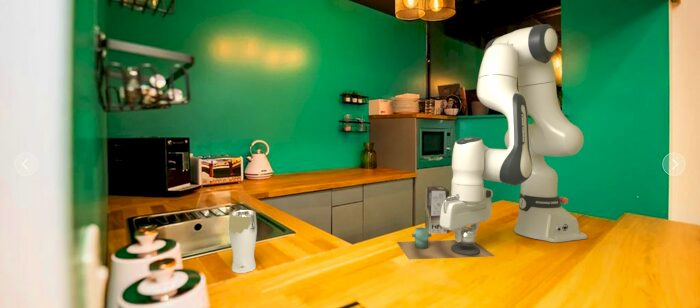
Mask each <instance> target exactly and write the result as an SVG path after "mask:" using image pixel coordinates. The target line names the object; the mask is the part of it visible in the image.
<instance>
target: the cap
mask: <svg viewBox="0 0 700 308" xmlns="http://www.w3.org/2000/svg"><path fill="white" fill-rule="evenodd" d="M460 232H461V235H463V241H462V242H457V244H458V245H461V246H467V247H470V246H474V245H475V242H476V239H475V238H476V237H475V230H474V229H471V228H470V227H469V226H465V227H462V230H461V231H460Z"/></svg>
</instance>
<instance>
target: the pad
mask: <svg viewBox="0 0 700 308" xmlns="http://www.w3.org/2000/svg"><path fill="white" fill-rule="evenodd" d="M451 250H452V251H453V252H455V253H457V254H461V255H468V256H473V255H478V254H479V253H480V249H479V248H477V247H475V246H470V247H467V246H461V245H458V244H454V245H452V246H451Z"/></svg>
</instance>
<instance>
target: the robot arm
mask: <svg viewBox="0 0 700 308" xmlns="http://www.w3.org/2000/svg"><path fill="white" fill-rule="evenodd" d="M558 45H559V37H558V33H557V31H556V29H555V28H554V27H553V26H552V25H551V24H546V23H545V24H543V23H541V24H535V25H533V26H530V27H524V28H519V29H516V30H514V31H511V32H509V33H507V34H504V35H502V36H497V37H495V38H493V39H491V40H490V41H488V43H487V44H486V46H485V47H484V51H483V57H482V61H481V64H480V66H479V67H480V68H479V72H478V77H477V84H476V96H477V99H478V100H479V102H480V103H481V104H482V105H484V106H485V107H487V108H489V109H491V110H493V111H496V112H499V113H501V114H503V115H504V117H506V120H507V125H508V126H507V127H508V129H507V131H506V132H505V135H504V144H505V147H506V148H507V149H504V148H491V147H490V148H489V147H488V146H486V145H485V144H484V142H483V139H482V138H480V137H476V136H468V137H462V138H460V139H457V140H456V141H455V142H454V145H453V149H452V155H451V156H452V158H451V170H452V179H451V183H450V184H451V187H450V189H451V190H450V191H451V192H450V195H449V196H448V197H447V198H446V199H445V201H444V202H443V205H442V208H441V215H440V226H441V228H443V229H446V230H448V231H452V232H453V234H454V240H455V241H457V242H462V241H463V235H461V232H460V231H461V230H462V227H469V226H470V227H469V228H471V229H474V230H475V238H476V237H477V231H478V228H479V227H480V223H481V222H484V221H485V222H486V221H488V220H490V218H491V215H492V205H493V204H492V197H493V195H494V193H493V190H492V189H489V188H486V187H484V180H486V181H491V182H498V183H503V184H508V185H511V186H520V192H519V194H518V195H519V196H518V207H519V208H518V210H519V211H518V215H517V220H516V224H515V227H514V229H513V231H514V233H516V234H518V235H520V236H522V237H526V238H529V239H535V240H539V241H546V242H551V243H564V242H571V241H572V242H573V241H579V240H586V239H588V235H587V234H586V233H584V232H583V231H580V227H579V221H578V219H577V218H576V217H575V216H574V215H572V214H571V213H570V212H568V210H566V209H565V208H564V207H562V204H561V203H563V204H564V205H566V204H568V201H569V199H568V198H567V197H563V196H561V197H559V196H558V178H559V177H558V174H557V171H556V170H555V169H553V168H552V167H550V166H549V165H548V164H547V163H546V161H545V157H544V156H546V157H556V158H557V157H568V156H574V155H576V154H577V153H579V152H580V150H581V148H583V145H584V138H585V137H584V135H583V132H582V130H580V128H579V127H578V126H577V125H575V124H573V123H572V122H570V120H568V118H567V117H566V116H565V114H564V112H563V110H561V107H560V105H559V99H558V94H557V93H558V92H557V83H556V73H555V68H554V63H553V59H552V57H553V56H554V54H555V53H556V51H557V48H558ZM528 115H529V116H530V117H531V118H532V119H533V122H534V123H529V121H528V120H529V117H528Z"/></svg>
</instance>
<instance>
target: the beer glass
mask: <svg viewBox="0 0 700 308" xmlns="http://www.w3.org/2000/svg"><path fill="white" fill-rule="evenodd" d="M256 214H257V212H256V211H255V210H252V209H240V210H239V209H238V210H233V211H231V212H229V221H228V234H229V241H230V246H231V250H232V264H231V271H232V272H233V273H235V274H246V273H247V274H248V273H250V272H253V271H254V270H255V269H256V267H257V265H256V260H255V249H256V243H257V242H256V241H257V234H258V225H257V224H258V223H257V215H256Z"/></svg>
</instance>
